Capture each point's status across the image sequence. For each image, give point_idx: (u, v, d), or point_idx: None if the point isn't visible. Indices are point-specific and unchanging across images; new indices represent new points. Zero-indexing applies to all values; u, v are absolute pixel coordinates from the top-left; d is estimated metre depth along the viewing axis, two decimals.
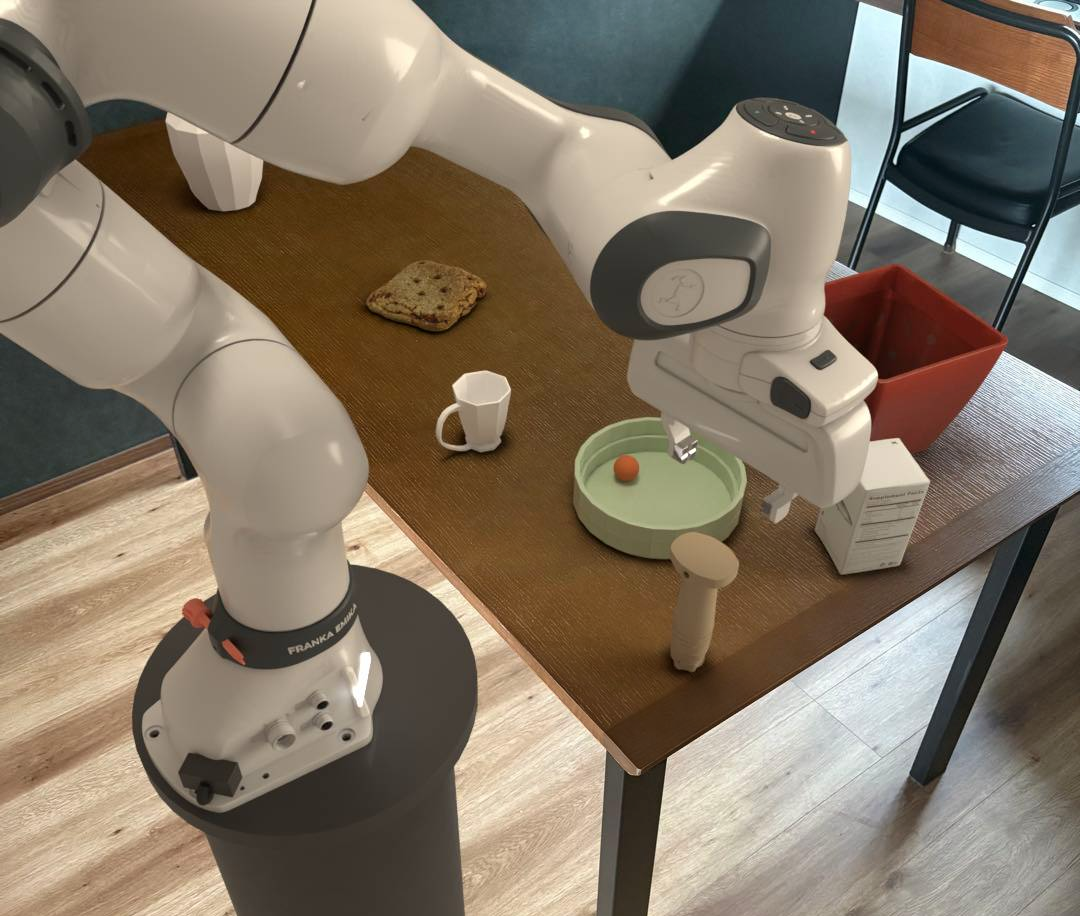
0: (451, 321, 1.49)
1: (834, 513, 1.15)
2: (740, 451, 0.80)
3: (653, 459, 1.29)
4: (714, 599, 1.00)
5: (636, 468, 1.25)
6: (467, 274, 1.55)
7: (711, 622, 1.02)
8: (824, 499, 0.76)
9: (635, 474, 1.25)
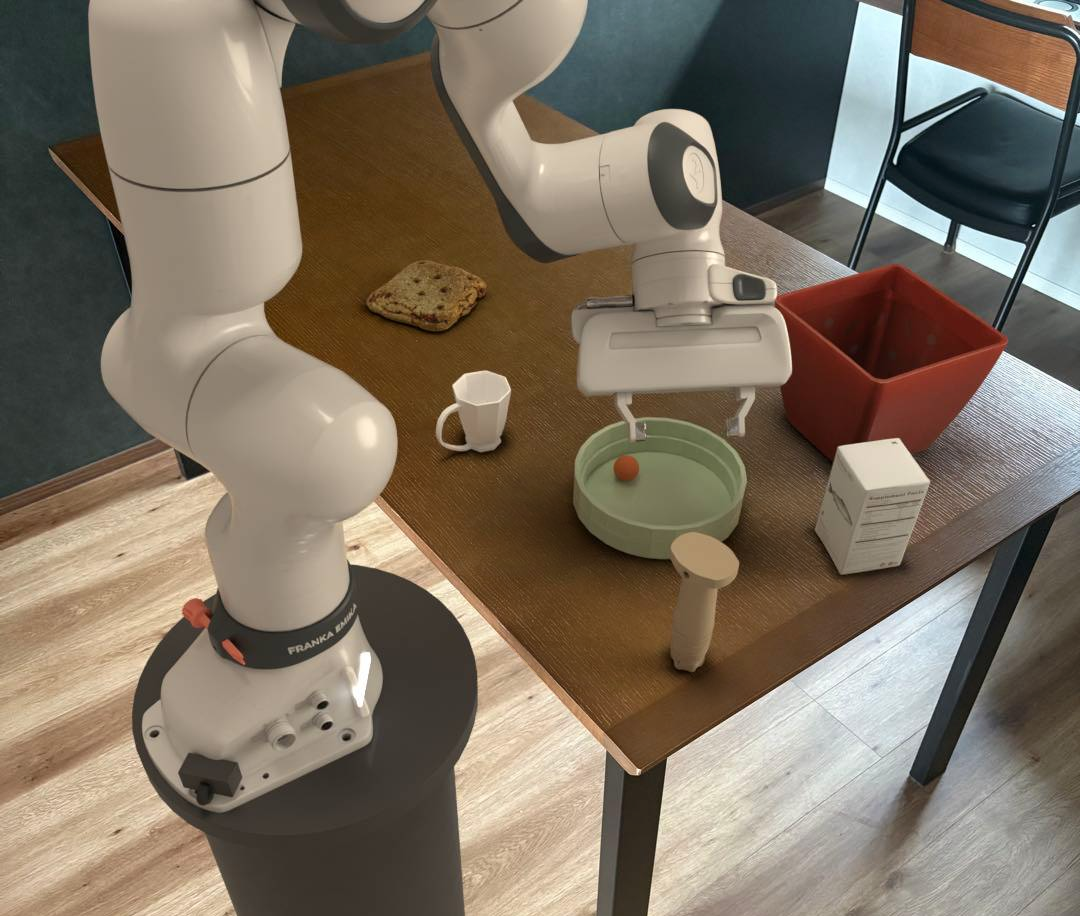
0: (451, 321, 1.49)
1: (834, 513, 1.15)
2: (707, 376, 1.01)
3: (653, 459, 1.29)
4: (714, 599, 1.00)
5: (636, 468, 1.25)
6: (467, 274, 1.55)
7: (711, 622, 1.02)
8: (787, 369, 1.01)
9: (635, 474, 1.25)
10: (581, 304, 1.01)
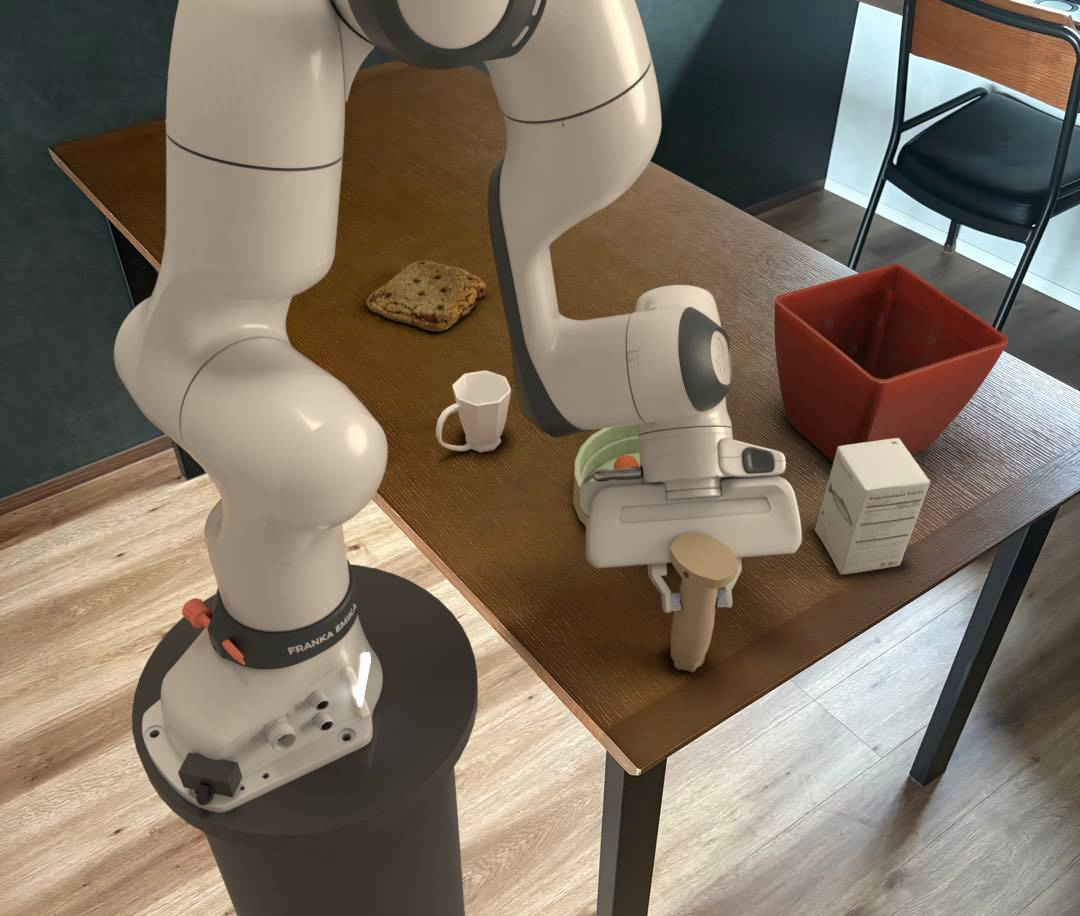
0: (451, 321, 1.49)
1: (834, 513, 1.15)
2: None
3: None
4: (714, 599, 1.00)
5: None
6: (467, 274, 1.55)
7: (711, 622, 1.02)
8: (797, 539, 1.00)
9: None
10: (589, 477, 1.00)
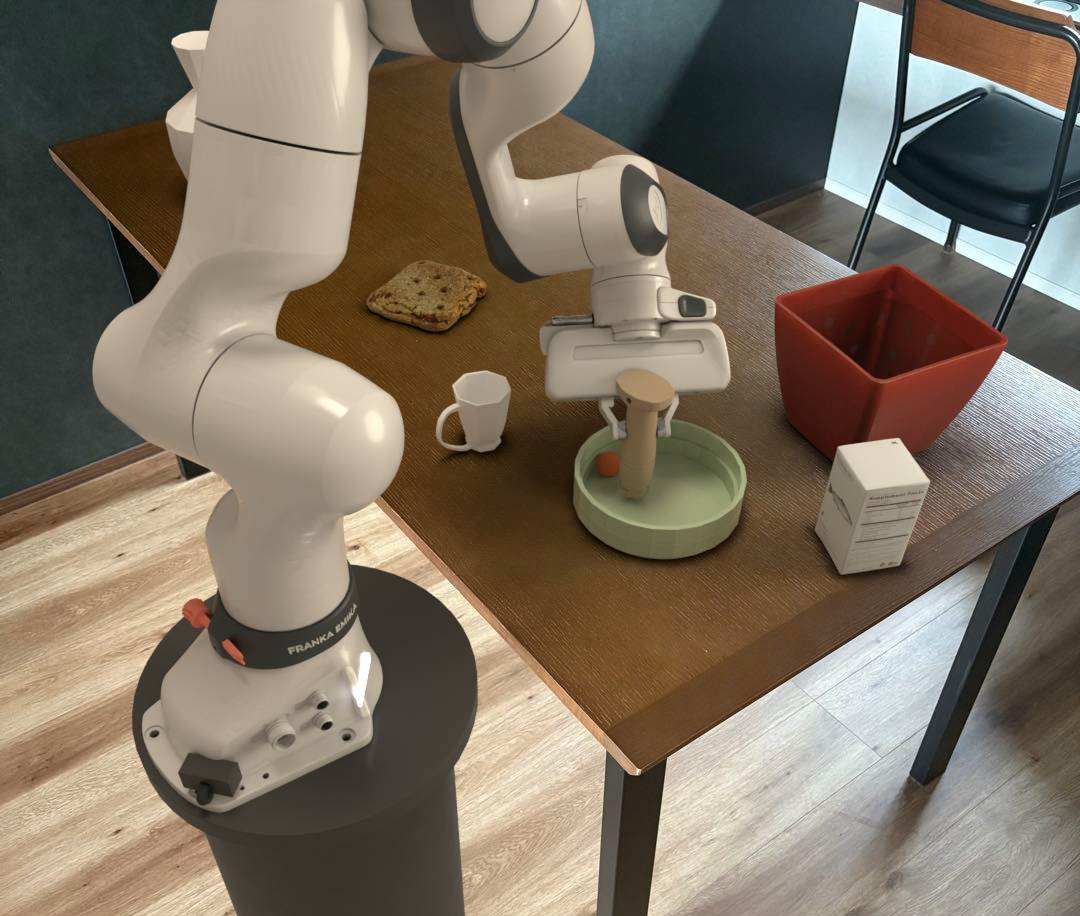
0: (451, 321, 1.49)
1: (834, 513, 1.15)
2: None
3: None
4: (654, 427, 1.16)
5: (606, 456, 1.25)
6: (467, 274, 1.55)
7: (653, 449, 1.18)
8: (726, 376, 1.17)
9: (610, 460, 1.25)
10: (547, 322, 1.17)
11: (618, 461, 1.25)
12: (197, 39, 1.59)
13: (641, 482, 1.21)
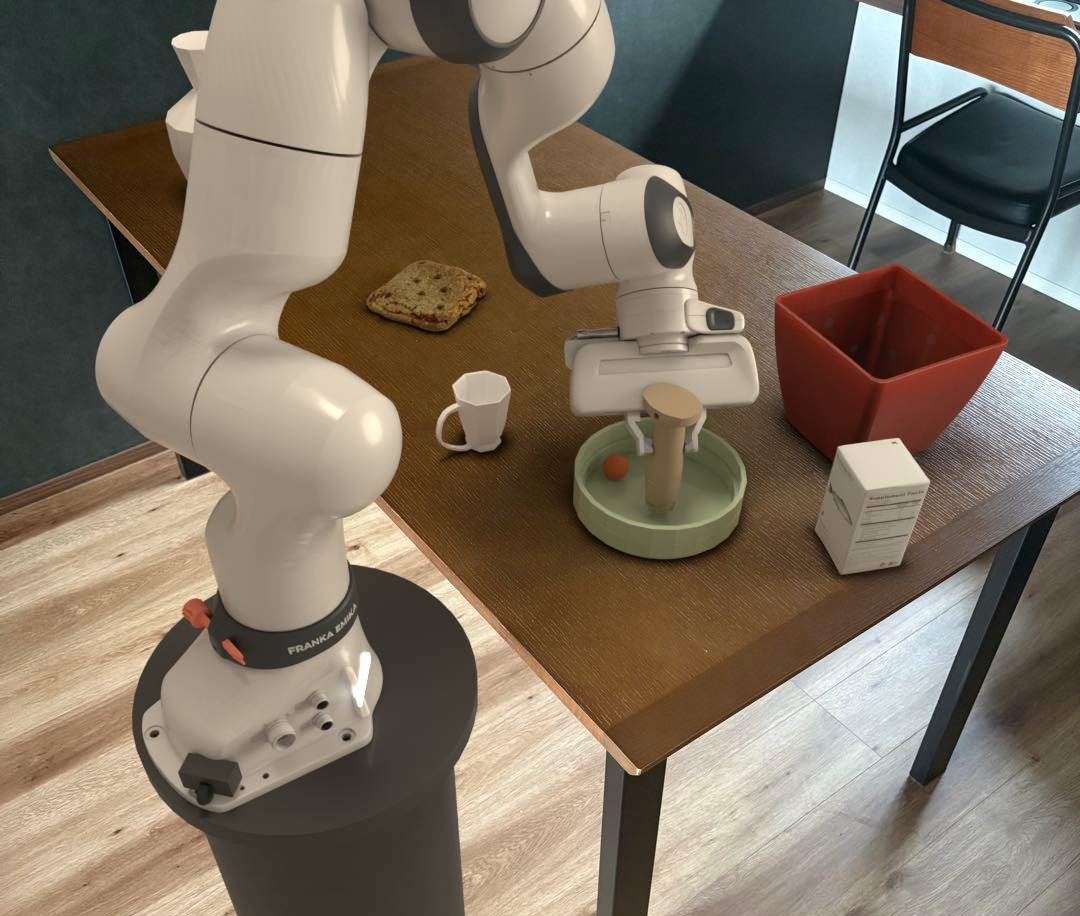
0: (451, 321, 1.49)
1: (834, 513, 1.15)
2: None
3: None
4: (682, 442, 1.14)
5: (618, 462, 1.24)
6: (467, 274, 1.55)
7: (679, 465, 1.16)
8: (755, 390, 1.14)
9: (621, 468, 1.24)
10: (572, 335, 1.14)
11: (627, 470, 1.25)
12: (197, 39, 1.59)
13: (667, 497, 1.18)
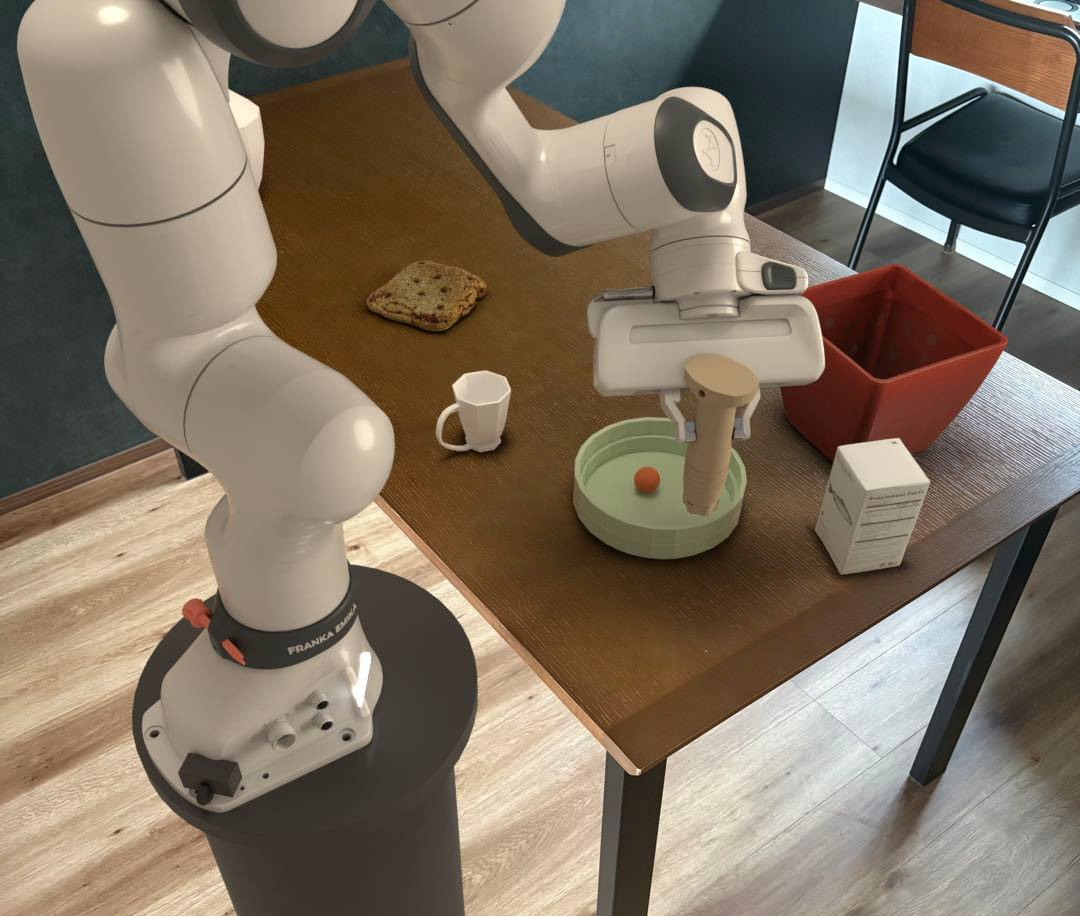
0: (451, 321, 1.49)
1: (834, 513, 1.15)
2: None
3: (653, 459, 1.29)
4: (731, 426, 0.93)
5: None
6: (467, 274, 1.55)
7: (727, 455, 0.95)
8: (820, 363, 0.94)
9: None
10: (597, 296, 0.94)
11: None
12: None
13: (711, 495, 0.98)
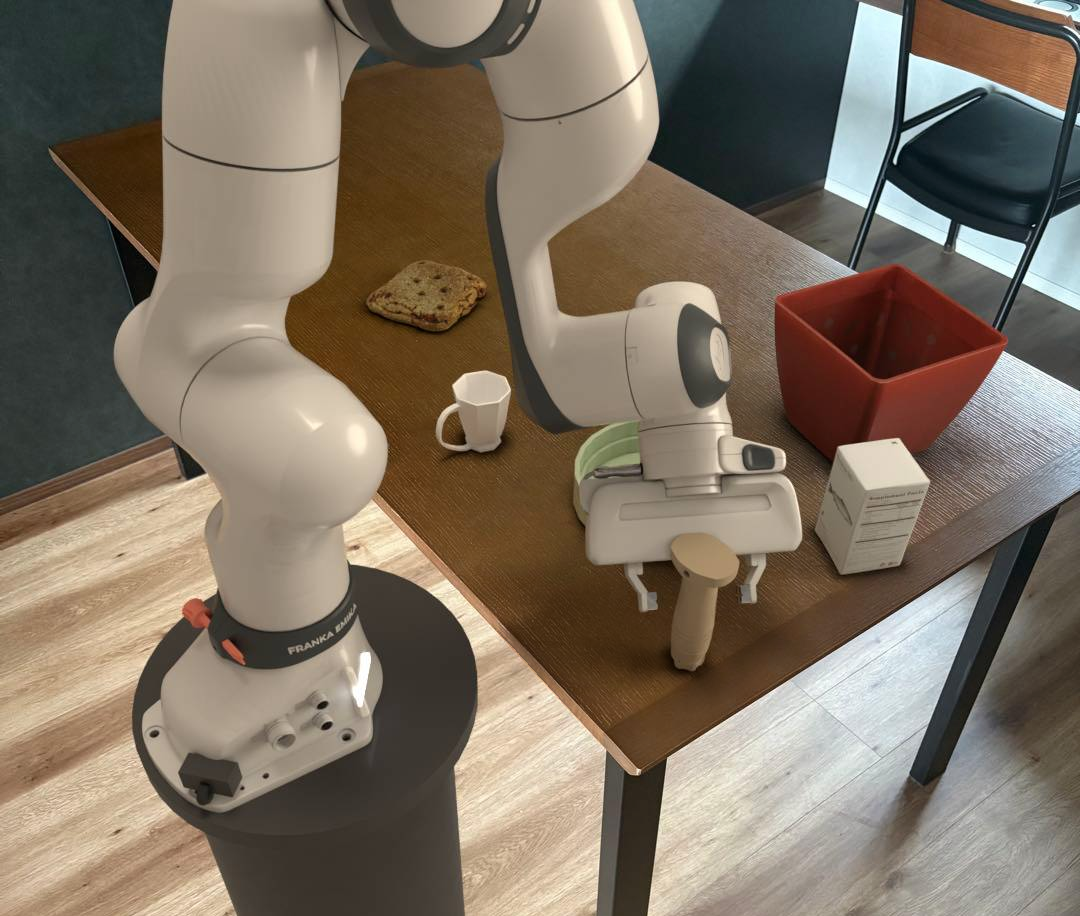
0: (451, 321, 1.49)
1: (834, 513, 1.15)
2: None
3: None
4: (714, 598, 1.00)
5: None
6: (467, 274, 1.55)
7: (711, 621, 1.02)
8: (797, 536, 1.00)
9: None
10: (589, 474, 1.00)
11: None
12: None
13: (697, 654, 1.05)
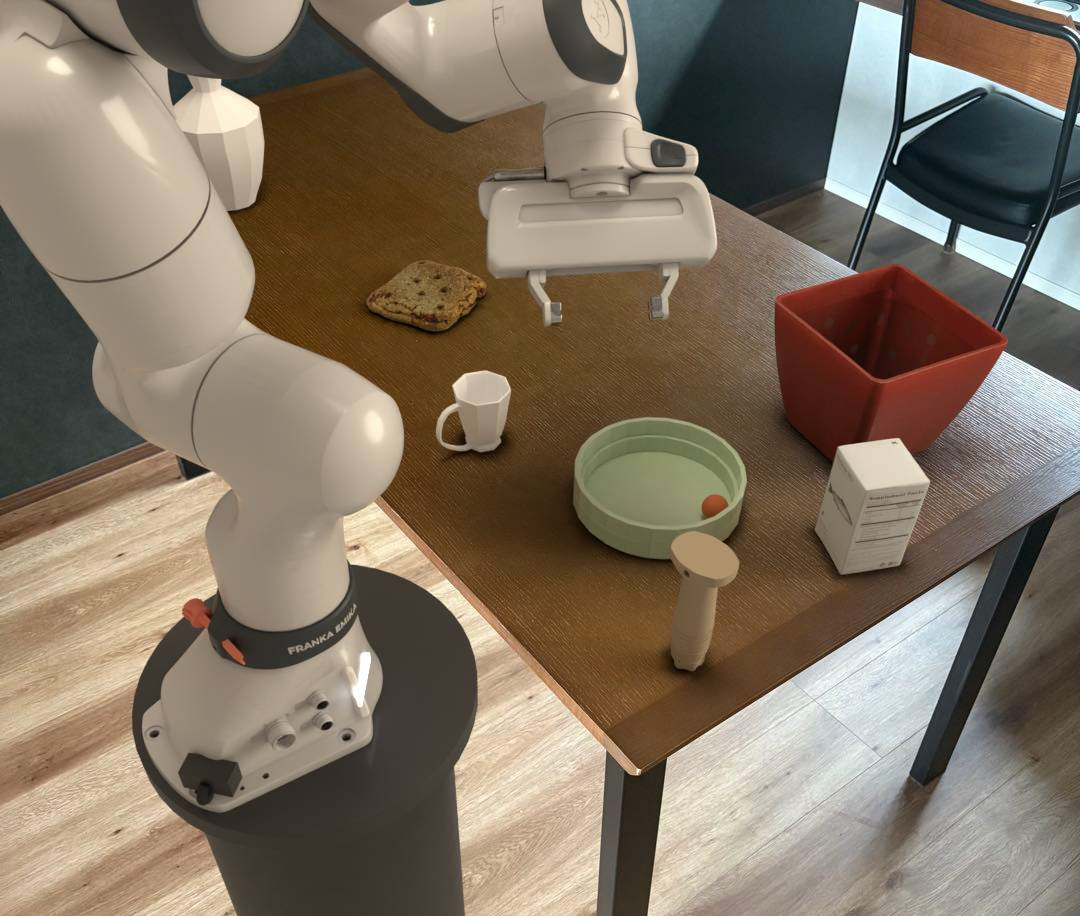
0: (451, 321, 1.49)
1: (834, 513, 1.15)
2: (626, 251, 0.93)
3: (653, 459, 1.29)
4: (714, 598, 1.00)
5: None
6: (467, 274, 1.55)
7: (711, 621, 1.02)
8: (711, 243, 0.94)
9: None
10: (488, 177, 0.94)
11: None
12: None
13: (697, 654, 1.05)
